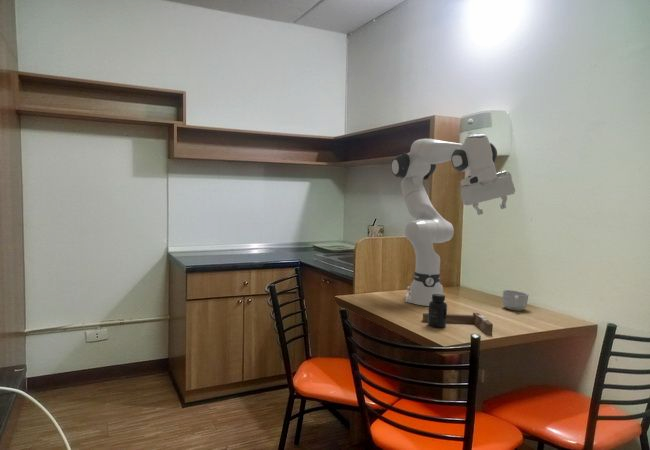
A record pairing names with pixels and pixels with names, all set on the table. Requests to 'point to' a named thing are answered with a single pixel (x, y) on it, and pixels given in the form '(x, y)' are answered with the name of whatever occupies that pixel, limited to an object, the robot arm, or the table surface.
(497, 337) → the table surface
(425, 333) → the table surface
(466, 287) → the table surface
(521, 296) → the teacup
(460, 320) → the rack
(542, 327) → the table surface
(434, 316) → the supplement bottle
